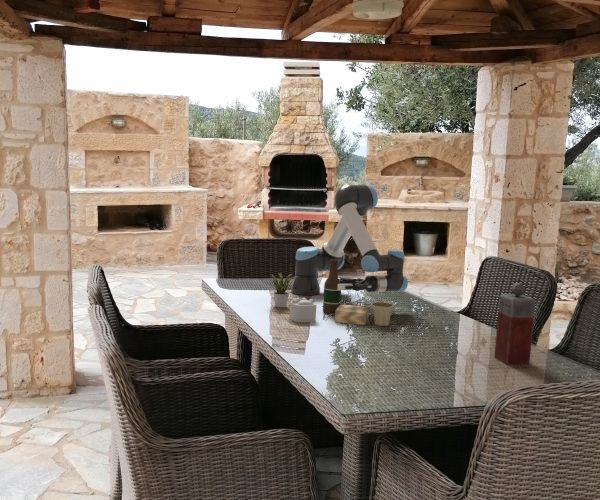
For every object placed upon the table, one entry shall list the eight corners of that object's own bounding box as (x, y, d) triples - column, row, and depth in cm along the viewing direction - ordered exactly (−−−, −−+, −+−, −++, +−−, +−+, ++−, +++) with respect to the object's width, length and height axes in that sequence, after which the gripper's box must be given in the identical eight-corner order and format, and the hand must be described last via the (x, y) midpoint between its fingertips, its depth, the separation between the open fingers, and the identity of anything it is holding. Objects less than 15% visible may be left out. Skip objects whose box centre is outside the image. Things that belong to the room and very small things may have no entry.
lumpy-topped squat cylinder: (294, 322, 279) (295, 302, 278) (286, 315, 291) (287, 296, 290) (317, 322, 282) (319, 302, 281) (308, 315, 294) (309, 295, 293)
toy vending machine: (512, 355, 245) (519, 280, 241) (529, 364, 234) (537, 285, 230) (490, 355, 243) (497, 279, 239) (506, 364, 232) (513, 285, 228)
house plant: (300, 304, 316) (301, 270, 314) (297, 310, 302) (298, 274, 300) (270, 302, 317) (271, 268, 315) (266, 308, 303) (267, 272, 301)
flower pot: (391, 328, 277) (393, 307, 276) (369, 325, 279) (370, 305, 278) (393, 323, 287) (394, 303, 285) (371, 320, 288) (372, 301, 287)
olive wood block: (334, 321, 283) (335, 310, 283) (339, 315, 296) (339, 304, 295) (365, 324, 281) (366, 313, 280) (368, 318, 293) (369, 307, 293)
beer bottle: (340, 314, 298) (343, 261, 295) (322, 313, 298) (325, 260, 295) (339, 310, 306) (342, 258, 303) (322, 309, 306) (325, 258, 303)
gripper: (386, 297, 296) (342, 298, 289) (363, 286, 319) (322, 287, 312) (387, 280, 295) (343, 281, 288) (364, 271, 318) (323, 271, 311)
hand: (332, 284), depth 300 cm, fingers open, 13 cm apart
